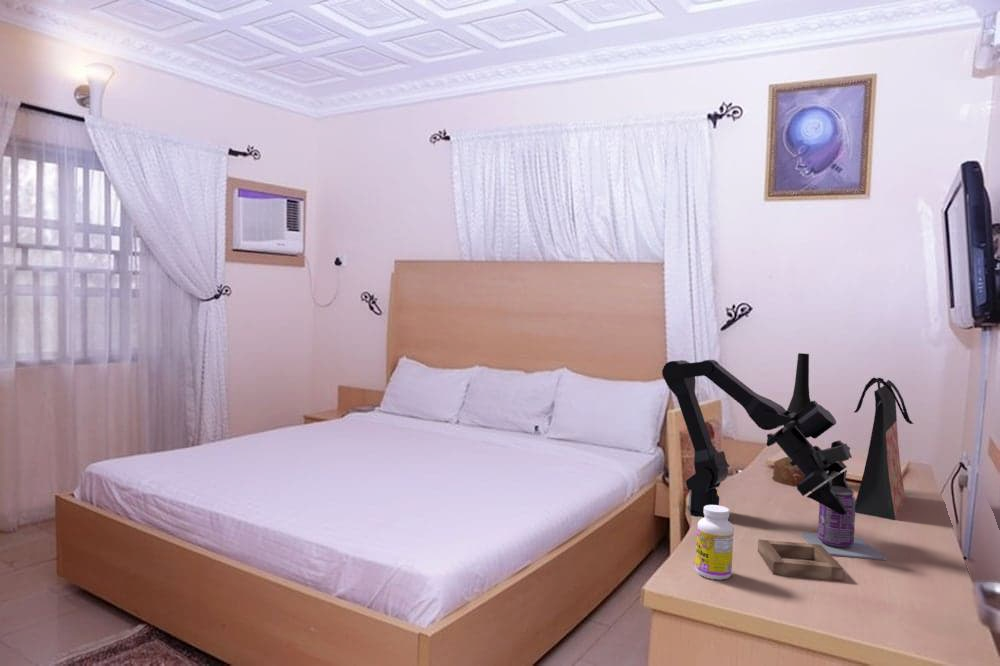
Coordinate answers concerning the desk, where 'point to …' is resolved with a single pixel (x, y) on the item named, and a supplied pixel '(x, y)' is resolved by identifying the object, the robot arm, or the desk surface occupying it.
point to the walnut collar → (819, 569)
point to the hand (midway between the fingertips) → (850, 509)
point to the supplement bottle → (714, 543)
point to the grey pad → (846, 548)
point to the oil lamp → (798, 402)
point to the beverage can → (838, 520)
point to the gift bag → (882, 456)
